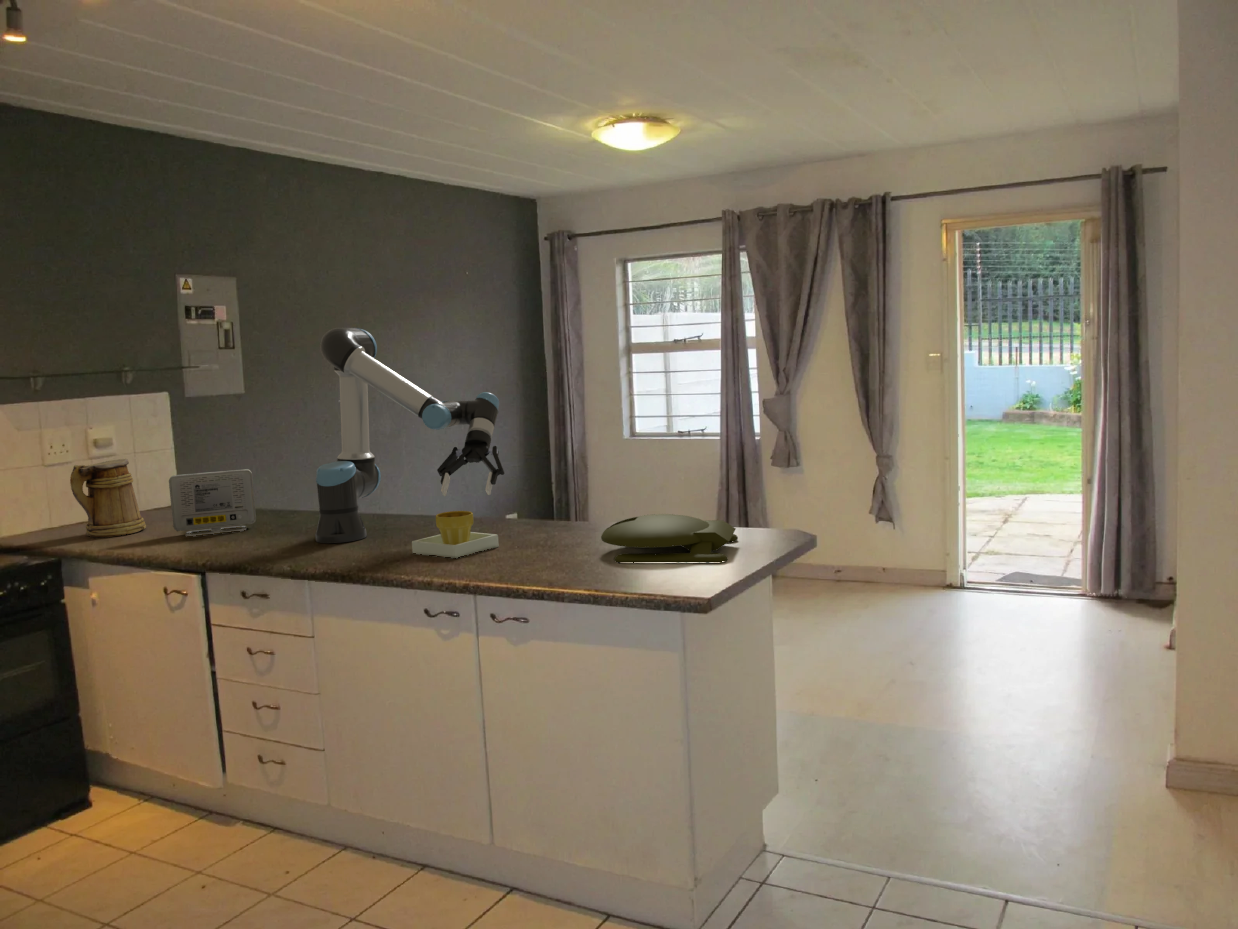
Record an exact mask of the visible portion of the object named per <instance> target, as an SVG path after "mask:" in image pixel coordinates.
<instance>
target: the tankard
mask: <svg viewBox="0 0 1238 929" xmlns="http://www.w3.org/2000/svg"><path fill="white" fill-rule="evenodd" d="M128 465H129V460H128V459H127V458H120V459H111V460H106V461H103V462H97V463H93V464H90V465H89V464H88V465H84V464H81V465H76V464H75V465H74V466H73V468H72V471H71V474H70V482H69V484H70V490H71V492H72V494H73V497H74V498H75V500H76V502H77V503H78V504H79V505H80V506H81V508H82V509H83V510H84V512H85V514H86V515H87V524H86V525H85V530H86V531H85V535H86V536H88V537H89V536H91V537H90V538H95V537H105V538H114V537H119V536H120V537H121V535H122V536H126V534H127V535H130V534H134V533H138V532H140V531H143V530H145V529H146V528H147V525H146V522H145V520H144V517H143V516H142V515H141V512H140V508H139V505H138V501H137V500H138V499H137V498H136V494H135V489H134V486H133V482H134V479H133V476H132V473H131V472H129V469H128ZM84 483H85V487H86V488H87V495H86V494H85V492H84V489H83V488H84Z"/></svg>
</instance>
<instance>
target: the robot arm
mask: <svg viewBox="0 0 1238 929" xmlns="http://www.w3.org/2000/svg"><path fill="white" fill-rule="evenodd" d="M319 345H320V346H319V347H320V353H321V355H322V357H323V359H324V360H325V361H326V362H327V363H328V364H330V365H331V366H332V367H333V371H334V372H335V373H336V374H337V375H338V377H339V400H340V401H339V402H340V403H339V404H340V432H341V435H340V437H341V452H340V453H339V454H338V456H337V459H336V460H337V461H331V462H328V463H324V464H321V465H320V466H319V467H317V468H316V471H315V472H316V476H315V482H316V489H317V498H318V499H317V500H318V508H319V509H318V510H319V518H318V523H317V528H316V532H315V542H316V543H321V544H340V543H347V542H348V543H349V542H355V541H359V540H363V539H365V538H366V537H367V536H368V535H367V529H366V527H365V524H364V520H363V519H362V517H361V514H360V511H359V499H363V498H366V497H368V496H370V495H371V494H373V493H374V492H375V491H376V490H377V489H378V488H379V486H380V483H381V481H382V480H381V477H382V476H381V471H380V468H379V466H377V464H376V459H375V458H376V456H375V455H374V454H373V453H372V452H371V450H370V425H369V424H370V420H369V416H370V415H369V393H368V392H369V388H368V387H369V386H370V387H372V388H373V389H375V390H376V391H377V392H379V393H380V394H383V396H386V397H387V398H388V399H390V400H392V401H394V403H396V404H398V405H399V406H401V407H403V408H404V409H405V410H407V411H408V412H410V413H412V414H413V415H414V416H416V417H418V418H420V419H421V420H422V422H423V424H424V425H425V427H427V428H428V429H430V430H436V431H437V430H444V429H446V428H448V427H453V426H462V425H463V426H464V425H465V426H467V425H468V429H467V434H466V437H465V441H464V446H463V448H458V447H456V446H455V447H453V448H452V451H451V453H450V454H448V456H447V457H446V459H445V460H444V461H443V462H442V463H441V464H440V466H439V467H438V468H437V469H436V471H437V473H438V475H439V476H440V477H441V479H440V484H441V488H440V491H441V494H442V496H443V497H447V493H448V489H449V486H450V482H451V477H450V476H452V475H453V474H454V473H455V472H457V471H458V470H459V469H460V468H461V467H462V466H464V465H467V464H472V463H477V464H478V463H480V462H482V463H483V464H484V465H485V466H486V468H487V469H488V470H489V472H488V476H487V480H486V484H485V489H484V490H485V492H486V494H487V496H491V494H492V489H493V486H494V485H496V483H497V480H498V476H500V475H501V476H503V475H505V471H504V468H503V466H502V463H501V460H500V457H499V449H498V447H497V446H496V445H493V446H492V447H490V446H491V443H492V438H493V435H494V430H495V425H496V421H497V417H498V414H499V407H500V400H499V398H498V397H497V396H496V395H495V394H494V393H491V392H487V391H485V392H481V393H479V394H477V396H476V397H475V399H474V400H473V399H472V400H471V399H470V400H442V401H441V400H439V399H437V398H436V397H434V396H433V395H432V394H430V393H429V392H427V391H425V390H424V389H422V388H420V386H418V385H416V384H415V383H413V382H412V381H410V380H409V379H407V378H405V377H404V376H402V375H400V374H399V373H397V372H396V371H394V370H392V369H391V368H390V367H388V366H386V365H385V364H384V363H382V362H381V361H379V360H377V359H376V356H377V354H378V345H377V341H376V340H375V338H374V336H373V335H372V334H371V333H370V332H369V331H367V330H365V329H362V328H359V327H335V328H332V329H329V330H328V331H326V332H325V333H324V334H323V336H322V337H321V341H320V343H319ZM489 455H491V456H493V459H494V461H495V463H496V466H497V468H496V467H495V466H494V465H493V464H492V462H491V461H490V460H489V459H488V458H487V456H489Z"/></svg>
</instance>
